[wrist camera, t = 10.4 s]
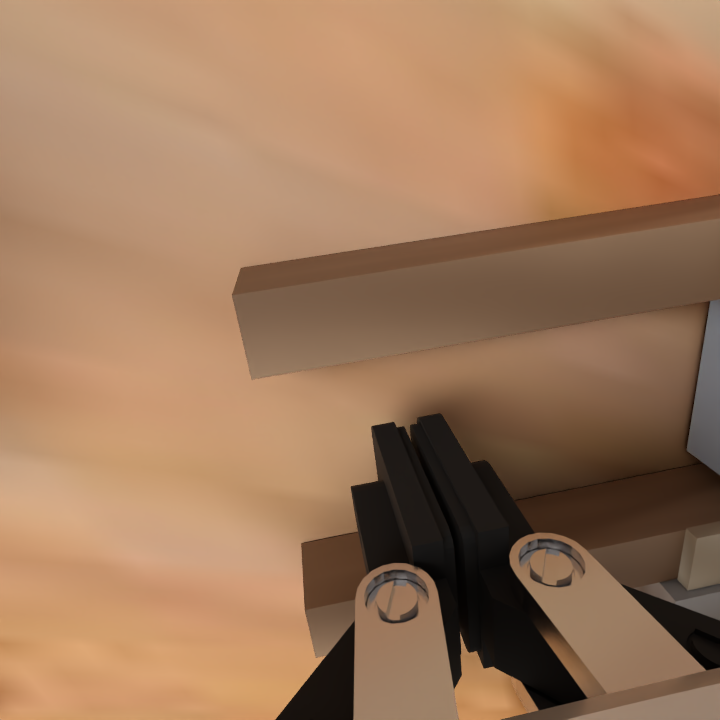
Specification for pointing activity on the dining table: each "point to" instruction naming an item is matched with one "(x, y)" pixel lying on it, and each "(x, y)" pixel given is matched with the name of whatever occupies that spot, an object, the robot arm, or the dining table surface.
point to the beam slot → (498, 319)
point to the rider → (708, 397)
